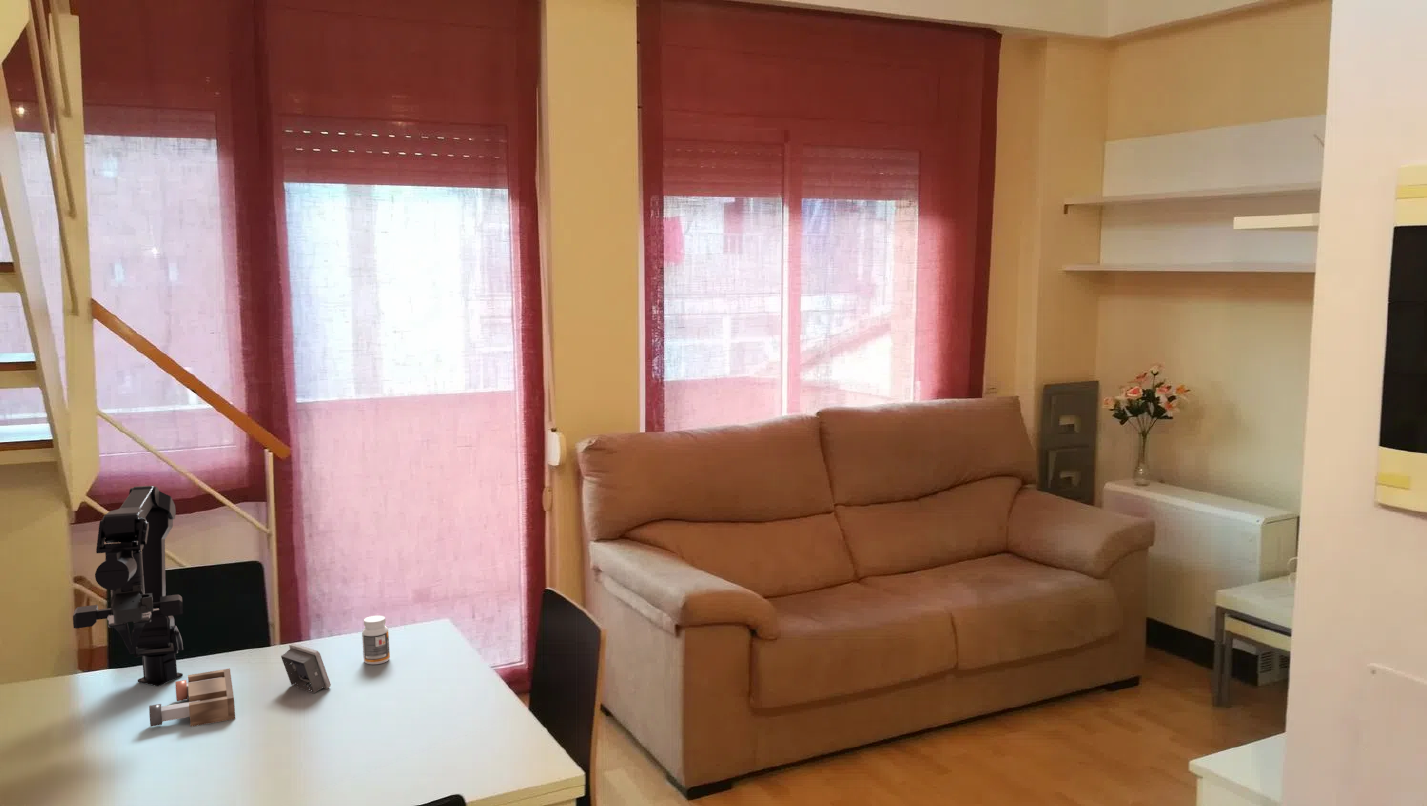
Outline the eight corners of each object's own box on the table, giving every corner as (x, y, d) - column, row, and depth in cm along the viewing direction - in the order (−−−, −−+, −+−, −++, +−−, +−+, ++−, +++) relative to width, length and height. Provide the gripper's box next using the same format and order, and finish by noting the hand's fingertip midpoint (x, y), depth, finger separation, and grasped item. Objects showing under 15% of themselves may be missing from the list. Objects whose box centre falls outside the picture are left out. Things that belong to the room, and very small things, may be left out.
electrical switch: (332, 688, 226) (326, 648, 224) (311, 699, 222) (305, 658, 220) (304, 679, 231) (298, 639, 229) (283, 689, 227) (277, 649, 225)
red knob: (176, 704, 217) (175, 685, 217) (176, 697, 221) (175, 678, 220) (224, 696, 221) (222, 677, 220) (223, 689, 225) (222, 671, 224)
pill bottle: (394, 660, 242) (392, 618, 240) (371, 667, 237) (369, 624, 236) (381, 654, 245) (379, 612, 244) (358, 661, 241) (356, 618, 240)
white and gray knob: (150, 730, 205) (149, 710, 205) (151, 722, 209) (149, 702, 208) (201, 721, 209) (199, 701, 209) (200, 713, 213) (199, 694, 212)
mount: (190, 726, 208) (189, 705, 207) (189, 695, 223) (188, 675, 222) (235, 718, 211) (233, 697, 211) (231, 688, 226) (229, 668, 226)
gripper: (68, 593, 196) (74, 674, 198) (180, 579, 205) (186, 657, 206) (72, 578, 206) (78, 656, 208) (179, 566, 215) (184, 641, 216)
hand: (132, 653), depth 209 cm, fingers closed
